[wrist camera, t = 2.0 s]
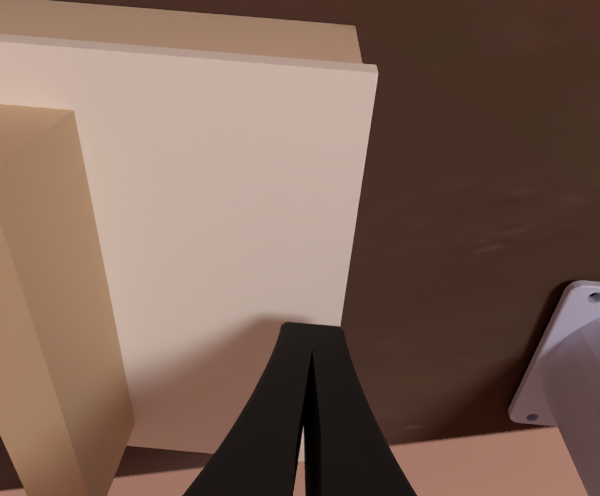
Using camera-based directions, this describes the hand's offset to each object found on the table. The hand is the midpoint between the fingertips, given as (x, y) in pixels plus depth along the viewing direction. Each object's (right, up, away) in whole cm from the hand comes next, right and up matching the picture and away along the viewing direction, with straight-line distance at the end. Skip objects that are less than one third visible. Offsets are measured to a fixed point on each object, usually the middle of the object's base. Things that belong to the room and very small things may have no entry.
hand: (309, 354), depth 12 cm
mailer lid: (-7, +2, +2) cm, 8 cm away
